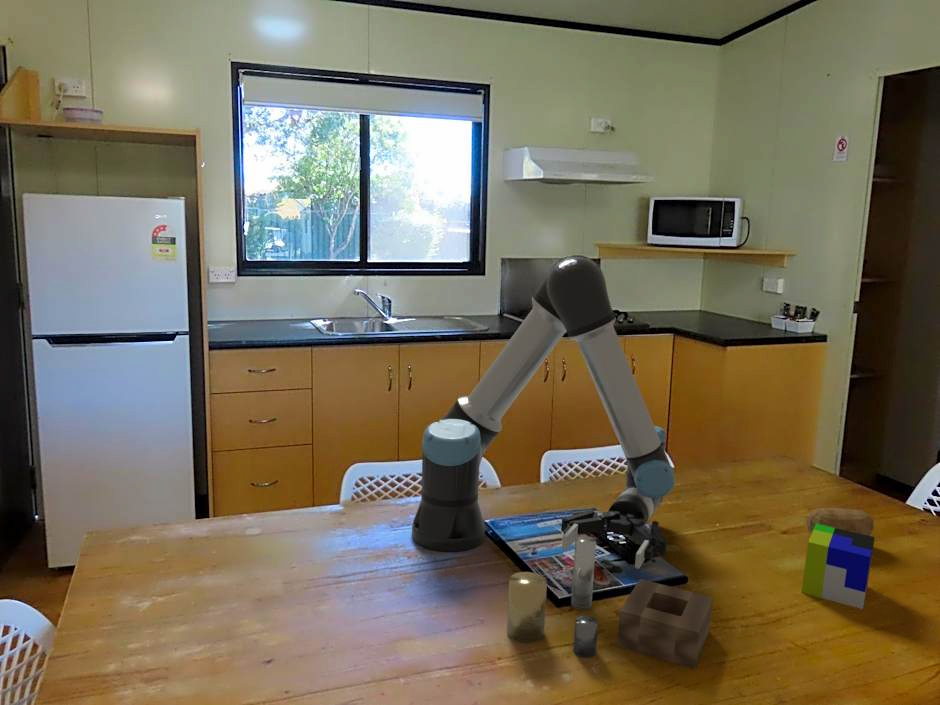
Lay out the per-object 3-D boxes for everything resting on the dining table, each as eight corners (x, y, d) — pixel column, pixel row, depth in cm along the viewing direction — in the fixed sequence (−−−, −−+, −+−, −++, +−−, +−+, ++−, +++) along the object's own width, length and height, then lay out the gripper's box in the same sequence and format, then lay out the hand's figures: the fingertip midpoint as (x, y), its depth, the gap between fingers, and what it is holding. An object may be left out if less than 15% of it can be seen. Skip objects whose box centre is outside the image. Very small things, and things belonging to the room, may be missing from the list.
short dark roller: (569, 653, 114) (572, 623, 114) (577, 642, 118) (579, 613, 117) (591, 660, 113) (594, 630, 112) (598, 648, 116) (601, 619, 115)
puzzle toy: (862, 609, 131) (870, 556, 129) (801, 592, 136) (808, 541, 134) (867, 586, 139) (874, 537, 138) (809, 571, 145) (815, 523, 143)
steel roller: (568, 606, 128) (572, 541, 126) (574, 597, 131) (579, 534, 129) (587, 612, 127) (592, 546, 124) (594, 602, 130) (598, 538, 127)
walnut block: (617, 645, 117) (619, 610, 116) (637, 611, 127) (639, 578, 126) (694, 669, 112) (698, 632, 110) (709, 631, 122) (712, 597, 121)
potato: (883, 554, 153) (889, 518, 152) (820, 556, 151) (825, 519, 150) (854, 534, 163) (859, 500, 161) (794, 535, 161) (798, 500, 159)
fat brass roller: (500, 636, 118) (503, 584, 117) (515, 618, 124) (518, 568, 122) (535, 647, 116) (538, 594, 114) (549, 629, 121) (552, 577, 119)
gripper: (691, 543, 148) (668, 589, 129) (571, 516, 159) (534, 555, 140) (694, 507, 146) (672, 548, 128) (574, 482, 157) (536, 517, 138)
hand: (600, 552), depth 134 cm, fingers open, 13 cm apart
